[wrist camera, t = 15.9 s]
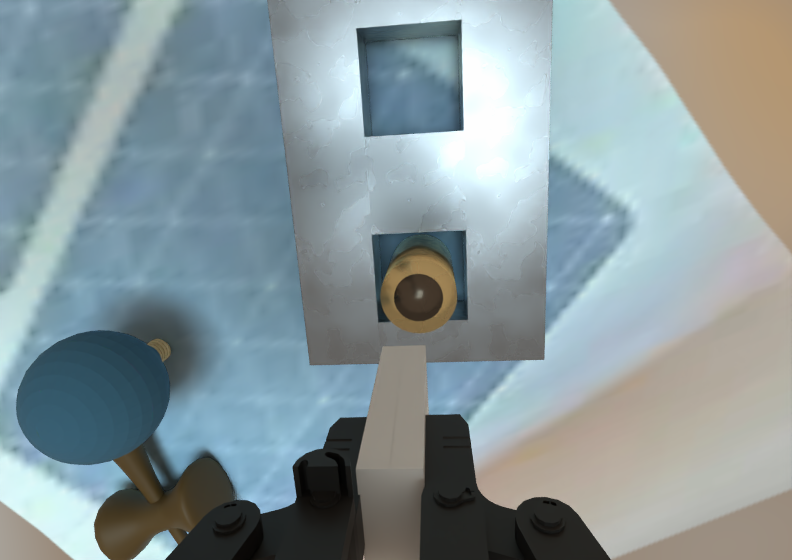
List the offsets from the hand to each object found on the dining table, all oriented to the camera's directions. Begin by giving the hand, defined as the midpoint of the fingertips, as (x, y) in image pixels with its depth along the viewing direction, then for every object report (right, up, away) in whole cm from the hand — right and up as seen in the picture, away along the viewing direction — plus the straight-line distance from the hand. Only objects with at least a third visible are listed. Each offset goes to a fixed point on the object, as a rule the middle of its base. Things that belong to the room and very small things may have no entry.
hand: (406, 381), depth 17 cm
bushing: (+2, +5, +18) cm, 19 cm away
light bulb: (-19, -2, +22) cm, 29 cm away
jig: (+1, +11, +17) cm, 20 cm away
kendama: (-21, -11, +25) cm, 34 cm away
